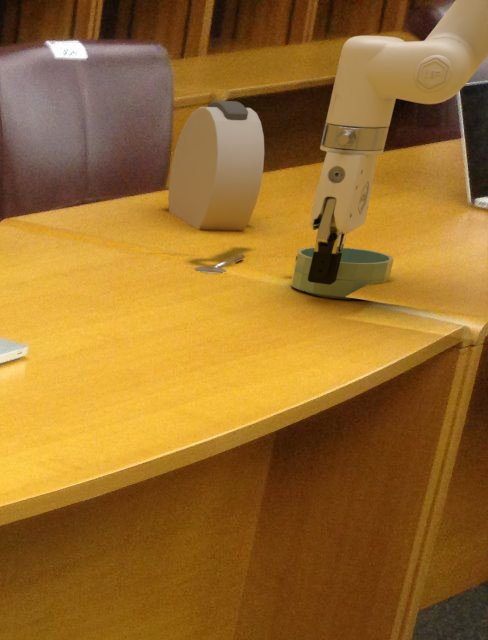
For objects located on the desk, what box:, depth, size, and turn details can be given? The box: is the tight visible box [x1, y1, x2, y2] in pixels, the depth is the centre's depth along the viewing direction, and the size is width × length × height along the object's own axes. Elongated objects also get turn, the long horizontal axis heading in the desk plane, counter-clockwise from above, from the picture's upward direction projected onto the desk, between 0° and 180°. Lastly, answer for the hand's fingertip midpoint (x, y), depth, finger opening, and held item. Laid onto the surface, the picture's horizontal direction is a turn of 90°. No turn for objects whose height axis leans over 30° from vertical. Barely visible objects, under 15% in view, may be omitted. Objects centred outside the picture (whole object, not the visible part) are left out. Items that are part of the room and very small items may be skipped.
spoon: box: [193, 253, 245, 274], centre depth 226 cm, size 16×4×1 cm, turn 141°
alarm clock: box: [167, 100, 265, 232], centre depth 252 cm, size 21×8×20 cm, turn 179°
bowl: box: [290, 246, 394, 300], centre depth 211 cm, size 12×12×5 cm
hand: (321, 282), depth 206 cm, fingers closed
